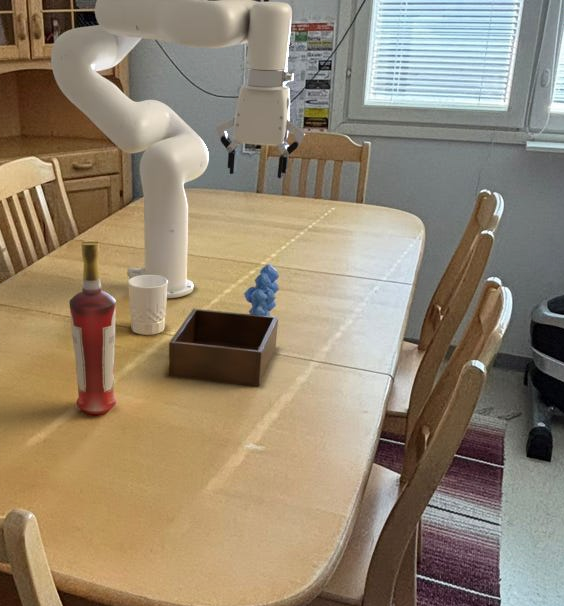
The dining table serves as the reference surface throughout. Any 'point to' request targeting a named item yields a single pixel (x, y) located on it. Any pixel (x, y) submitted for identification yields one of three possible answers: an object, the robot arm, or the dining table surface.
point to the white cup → (147, 303)
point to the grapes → (263, 292)
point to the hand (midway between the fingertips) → (256, 174)
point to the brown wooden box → (223, 347)
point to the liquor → (93, 337)
